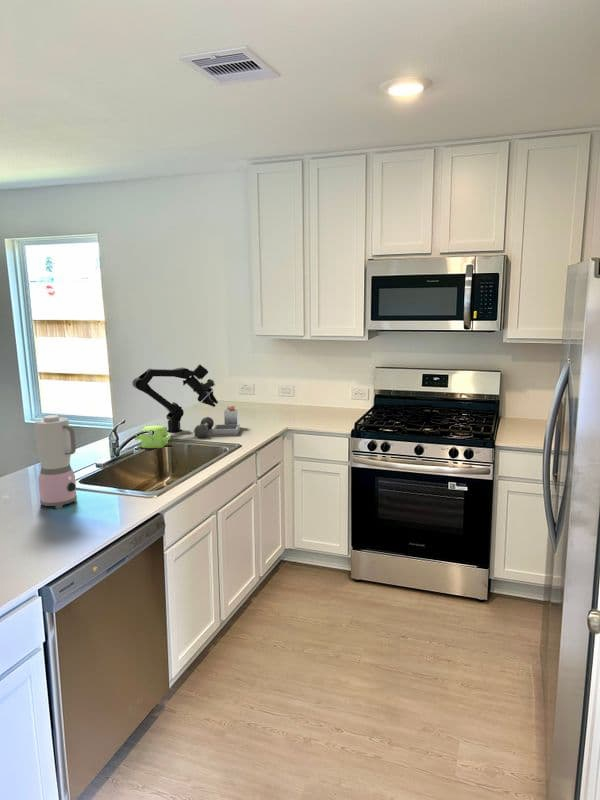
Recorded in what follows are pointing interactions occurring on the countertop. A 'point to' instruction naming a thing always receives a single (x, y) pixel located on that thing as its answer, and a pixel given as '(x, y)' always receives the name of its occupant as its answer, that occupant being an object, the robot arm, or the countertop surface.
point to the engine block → (231, 415)
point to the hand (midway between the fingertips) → (216, 404)
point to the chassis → (215, 429)
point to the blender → (55, 461)
